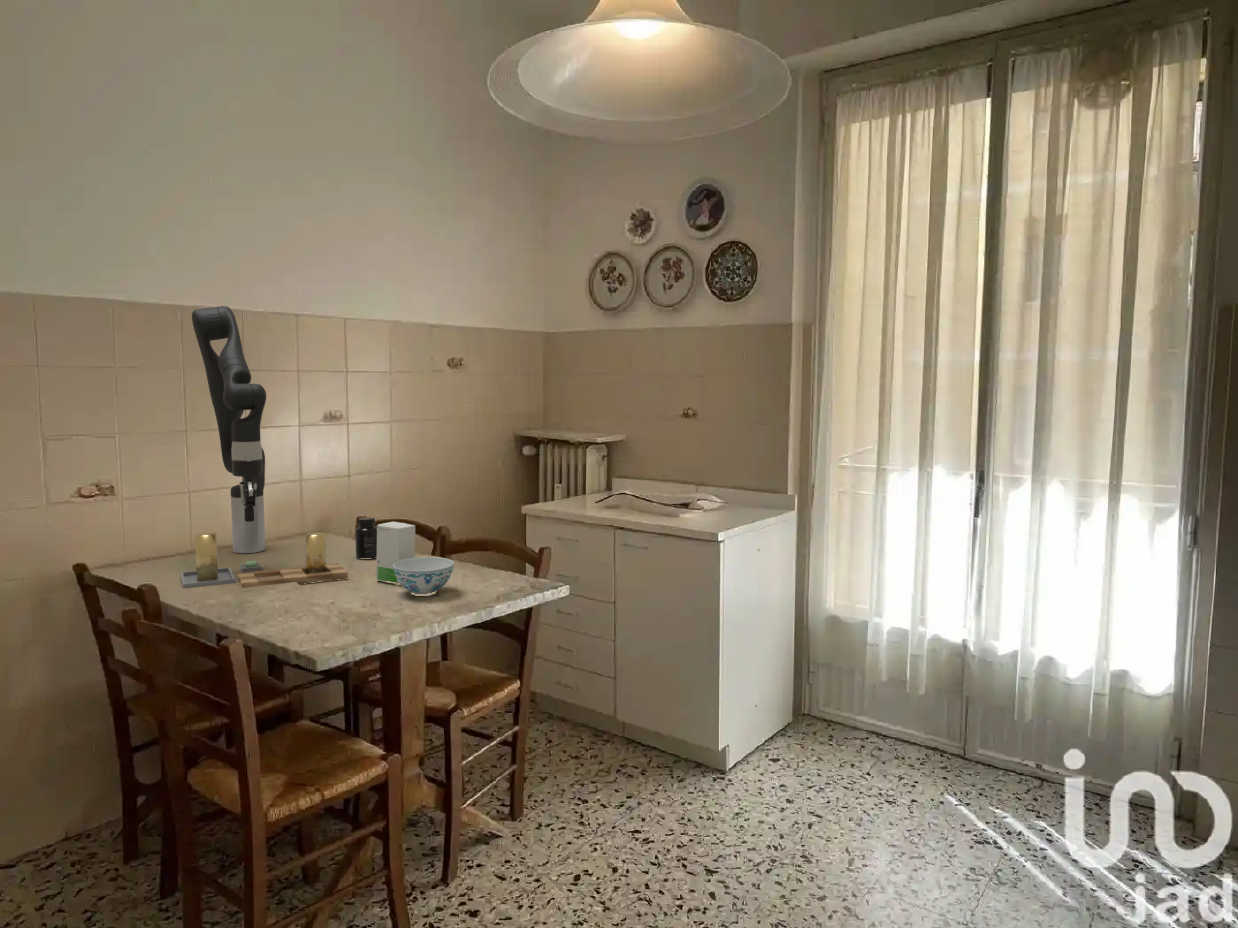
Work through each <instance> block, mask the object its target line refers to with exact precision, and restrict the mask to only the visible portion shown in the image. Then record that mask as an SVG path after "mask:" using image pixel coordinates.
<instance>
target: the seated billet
mask: <svg viewBox="0 0 1238 928" xmlns="http://www.w3.org/2000/svg"><path fill="white" fill-rule="evenodd" d="M304 536H305V537H304V539H305V566H306V574H313V573H322V572H326V564H327V563H326V560H327V559H326V556H327V555H326V533H325V532H319V531H318V532H308V533H305V534H304Z"/></svg>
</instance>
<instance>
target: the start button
mask: <svg viewBox="0 0 1238 928" xmlns="http://www.w3.org/2000/svg"><path fill="white" fill-rule="evenodd" d="M257 562H258V561H257V560H247V561H245V563H244V565H246V567H255V566H257Z"/></svg>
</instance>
